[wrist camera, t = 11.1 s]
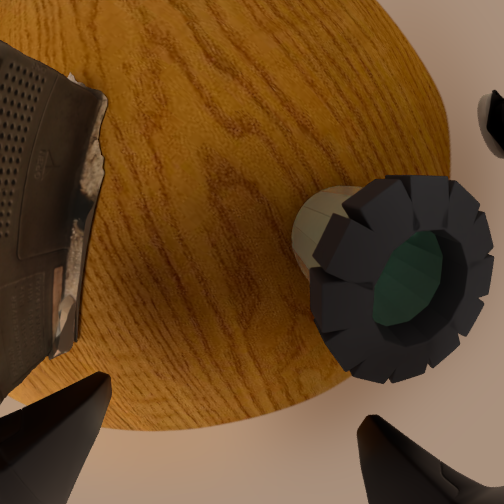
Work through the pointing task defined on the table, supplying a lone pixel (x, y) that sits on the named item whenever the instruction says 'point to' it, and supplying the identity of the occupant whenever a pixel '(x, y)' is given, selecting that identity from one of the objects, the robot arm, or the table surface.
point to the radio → (43, 208)
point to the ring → (374, 261)
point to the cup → (396, 270)
